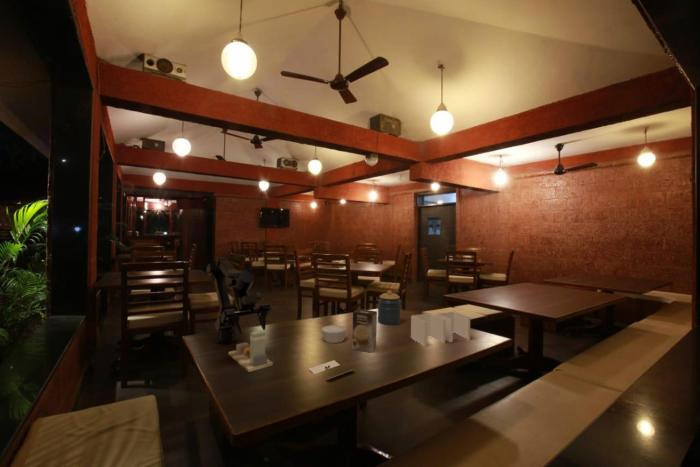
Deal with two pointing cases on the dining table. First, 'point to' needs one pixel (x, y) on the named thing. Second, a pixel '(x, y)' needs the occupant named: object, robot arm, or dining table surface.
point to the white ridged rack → (245, 349)
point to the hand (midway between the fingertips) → (253, 332)
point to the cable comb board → (247, 361)
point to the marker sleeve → (257, 344)
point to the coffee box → (364, 330)
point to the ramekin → (334, 333)
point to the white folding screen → (439, 326)
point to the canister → (389, 309)
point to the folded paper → (325, 367)
